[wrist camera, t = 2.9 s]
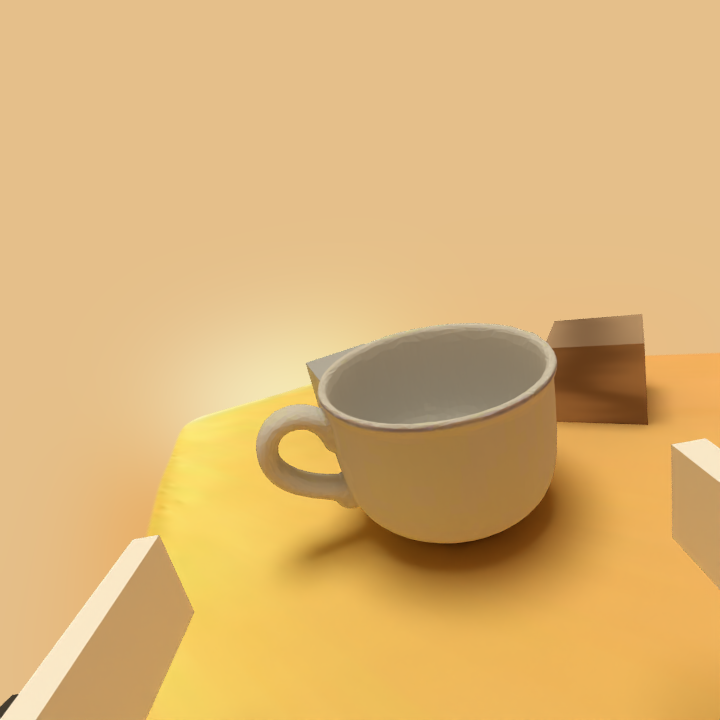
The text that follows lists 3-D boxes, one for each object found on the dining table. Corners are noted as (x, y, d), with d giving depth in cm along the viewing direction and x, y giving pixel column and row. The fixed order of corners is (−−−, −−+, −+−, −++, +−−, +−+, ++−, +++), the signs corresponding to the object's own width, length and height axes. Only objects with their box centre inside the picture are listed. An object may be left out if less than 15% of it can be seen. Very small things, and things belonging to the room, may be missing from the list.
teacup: (517, 427, 28) (500, 306, 25) (625, 552, 17) (613, 367, 15) (303, 479, 28) (266, 364, 26) (284, 631, 18) (217, 463, 15)
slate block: (377, 398, 37) (364, 343, 36) (400, 419, 33) (386, 358, 31) (322, 418, 36) (305, 363, 35) (337, 443, 32) (319, 380, 30)
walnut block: (645, 387, 29) (642, 314, 27) (647, 425, 25) (644, 343, 23) (561, 387, 31) (554, 321, 30) (552, 422, 27) (543, 348, 26)
